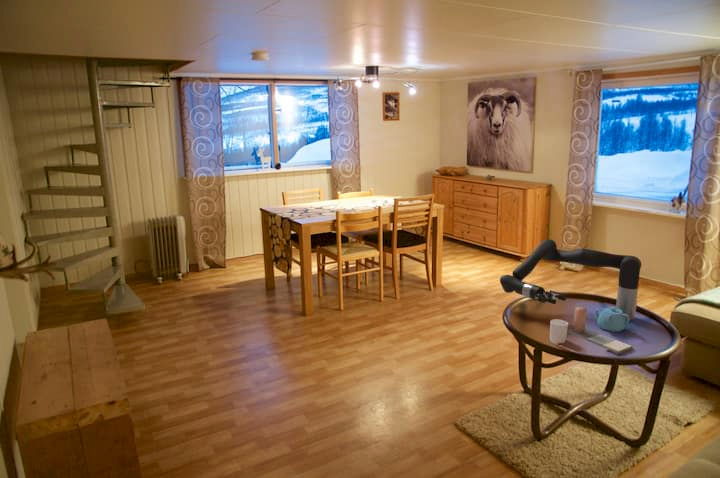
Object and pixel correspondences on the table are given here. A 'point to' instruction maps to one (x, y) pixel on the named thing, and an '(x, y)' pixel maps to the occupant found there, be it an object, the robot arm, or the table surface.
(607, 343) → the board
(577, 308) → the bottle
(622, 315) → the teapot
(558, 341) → the white cup
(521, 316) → the table surface
